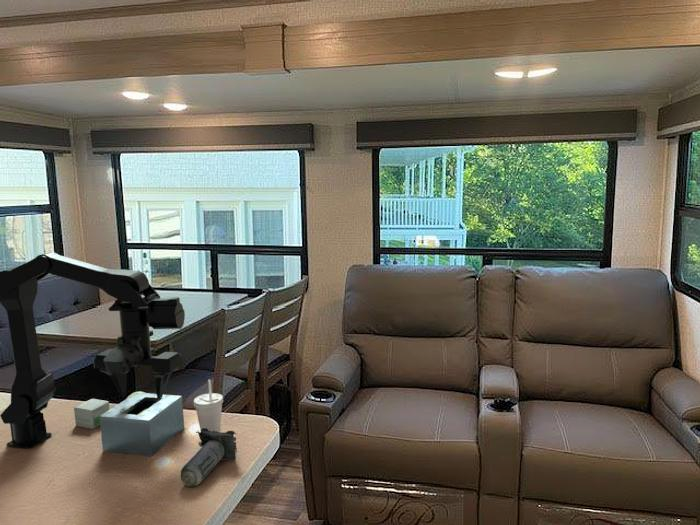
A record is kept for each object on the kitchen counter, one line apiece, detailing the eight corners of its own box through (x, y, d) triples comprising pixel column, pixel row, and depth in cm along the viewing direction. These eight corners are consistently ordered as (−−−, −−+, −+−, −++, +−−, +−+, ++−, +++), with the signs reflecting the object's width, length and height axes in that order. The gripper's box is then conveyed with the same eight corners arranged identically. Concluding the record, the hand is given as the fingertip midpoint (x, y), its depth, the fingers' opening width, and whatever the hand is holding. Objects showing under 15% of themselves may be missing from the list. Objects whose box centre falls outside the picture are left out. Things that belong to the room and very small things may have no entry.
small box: (93, 429, 126) (91, 410, 125) (74, 426, 128) (72, 407, 127) (111, 419, 131) (109, 400, 130) (93, 416, 133) (91, 397, 132)
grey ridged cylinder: (207, 461, 112) (176, 496, 101) (197, 427, 111) (165, 459, 100) (245, 457, 110) (217, 493, 99) (235, 423, 109) (206, 455, 97)
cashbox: (102, 451, 115) (99, 416, 114) (139, 424, 127) (136, 392, 126) (152, 456, 112) (148, 420, 111) (184, 428, 125) (181, 395, 124)
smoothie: (218, 447, 115) (214, 386, 113) (191, 445, 116) (186, 384, 114) (230, 433, 121) (226, 375, 119) (204, 431, 123) (200, 374, 120)
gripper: (71, 338, 110) (79, 409, 113) (151, 342, 106) (157, 415, 108) (107, 324, 121) (113, 389, 123) (181, 327, 117) (186, 394, 119)
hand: (141, 397), depth 118 cm, fingers open, 9 cm apart
